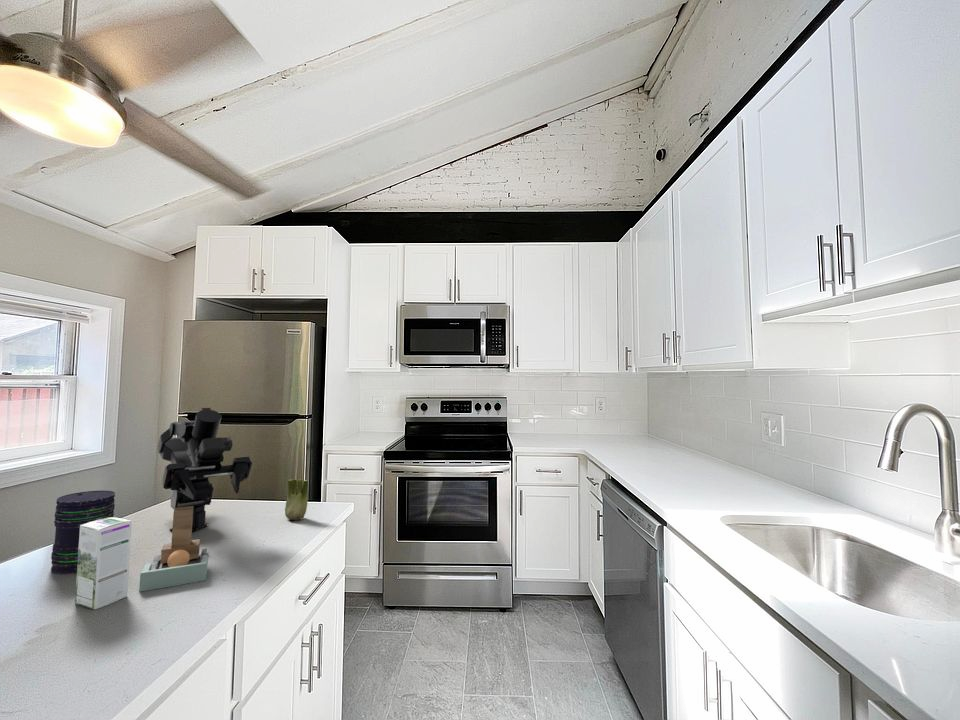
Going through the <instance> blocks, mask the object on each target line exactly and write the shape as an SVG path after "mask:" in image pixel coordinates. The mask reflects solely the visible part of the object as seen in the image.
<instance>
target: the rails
mask: <svg viewBox="0 0 960 720" xmlns="http://www.w3.org/2000/svg"><path fill="white" fill-rule="evenodd" d="M207 551H208V548H202V549H201V554H200V560H199V563H202V557H203V555H208V552H207ZM159 561H160V562H161V554H159V555H155V556H154V557H153V560H152V562H151V563H152V566H151V570H156V569H158V567H159V564H160V562H159Z"/></svg>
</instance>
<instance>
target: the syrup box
mask: <svg viewBox="0 0 960 720" xmlns="http://www.w3.org/2000/svg"><path fill="white" fill-rule="evenodd" d="M132 522H133V521H132V520H130V519H124V518H120V517H116V516H115V517H114V516H113V517H108V518H103V519H99V520H95V521H92V522H89V523H86V524H83V525H80V534H79V548H78V564H77V573H76V579H75V580H76V582H75V584H76V585H75V599H74V604H75V605H79V606H82V607H84V608H88V609H92V610H94V611H95V610H98V609H100V608H103V607H105V606H106V607H107V606H108V605H111V604H113V603H116V602H117V601H120V600H121V599H124V598H126V597H128V592H129V591H128V588H129V574H130V573H129V571H130V557H131V555H130V554H131V552H130V551H131V539H132V538H131V536H132Z"/></svg>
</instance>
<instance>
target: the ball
mask: <svg viewBox="0 0 960 720" xmlns="http://www.w3.org/2000/svg"><path fill="white" fill-rule="evenodd" d="M189 559H190V556H189V553H188V552H187V551H185V550H177V551H175V552H173V553H172V554H171V555H170V556H169V558H168V561H167V563H166V564H167V566H168V568H169V567H176V566H183V565H189V564H188V563H189V562H190V560H191V559H190V560H189Z"/></svg>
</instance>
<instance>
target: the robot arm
mask: <svg viewBox="0 0 960 720" xmlns="http://www.w3.org/2000/svg"><path fill="white" fill-rule="evenodd" d="M222 417H223V415H222V414H221V413H220V412H218V411H216V410H212V409H211V407H201V410H199V411H197V413H196V415H195V419H194V420H183V421H173V422H171V423H170V425H169V428H168V429H166V430H165V431H164V432H162V434H160V436H159V440H158V443H157V454H158V455H159V454H160V457H161V459H162V460H163V461H167V462H170V463H169V464H167V465H165V467H164V471H163V475H162V486H163V489H164V490H171V491H172V495H171V497H170V508H171V509H172V510H173V511H174V510H175V508H178V507H189V506H193V521H192V533H193V532H195V530H196V531H198V530H200V528H201V529H203V528H205V527H208V526H209V523H206V506H209V505H211V503H212V498H213V493H214V490H215V489H214V486H213V484H212V482H210V480H209V478H213V477H218V476H225V475H229V478H230V480H231V481H230V483H231V485H232V488H233V490H234V492H235V494H239V491H240V485H241V483H242V482H243V481H244V480H246V479H247V478H249V475H250V472H251V469H252V466H253V460H252V458H251V457H250V456H242V457H234V458H232V459H233V460H232V463H231V464H229V465H228V464H227V465H222V462H224V458H225V457H224V452H230V451H231V450H232V448H233V440H232V438H231V437H229V436H228V437H227V436H225V437H218V432H219V430H220V425H221V420H222ZM173 436H178V437H173ZM207 525H208V526H207ZM202 527H203V528H202ZM172 529H173V527H171V528H170V529H169V532H172Z"/></svg>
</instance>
